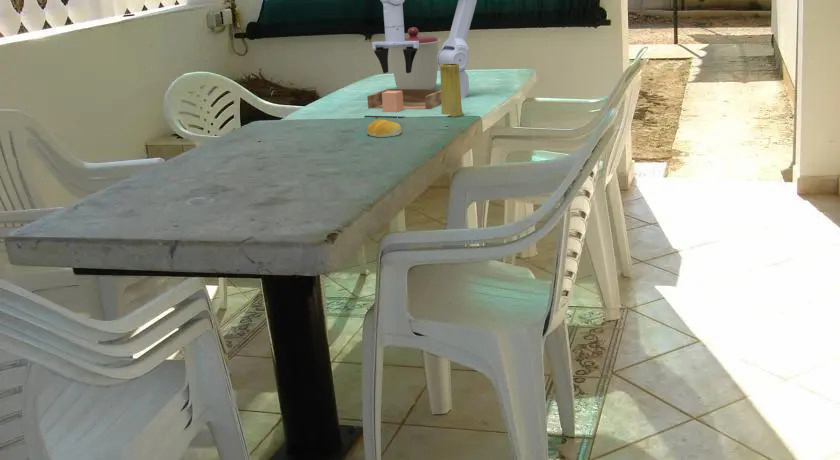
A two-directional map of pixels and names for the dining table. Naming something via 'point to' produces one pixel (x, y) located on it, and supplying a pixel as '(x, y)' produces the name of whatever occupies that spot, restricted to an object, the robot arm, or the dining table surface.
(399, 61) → the canister
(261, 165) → the dining table surface
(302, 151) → the dining table surface
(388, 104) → the block
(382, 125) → the bread roll
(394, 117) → the mat
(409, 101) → the crate
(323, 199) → the dining table surface
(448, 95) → the vase
